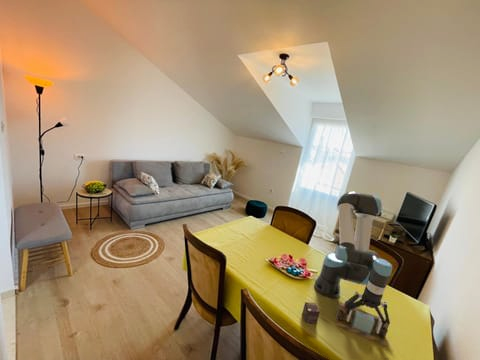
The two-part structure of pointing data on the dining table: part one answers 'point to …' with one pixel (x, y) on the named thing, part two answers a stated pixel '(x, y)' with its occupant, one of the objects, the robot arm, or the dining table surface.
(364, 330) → the pale grey block
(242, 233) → the dining table surface
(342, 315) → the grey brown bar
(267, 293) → the dining table surface
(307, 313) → the box
